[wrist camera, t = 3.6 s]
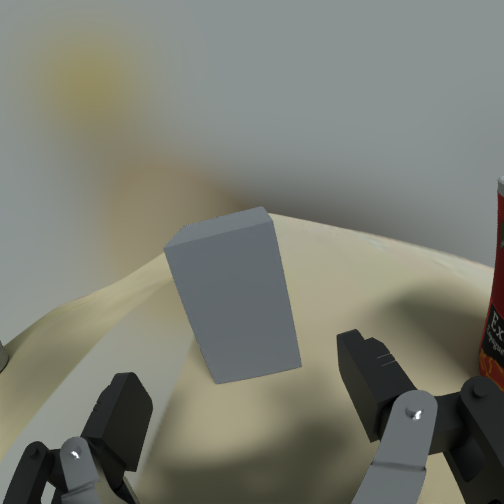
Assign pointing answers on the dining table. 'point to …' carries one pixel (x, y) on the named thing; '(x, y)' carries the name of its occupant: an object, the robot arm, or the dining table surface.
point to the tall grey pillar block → (235, 295)
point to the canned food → (495, 309)
